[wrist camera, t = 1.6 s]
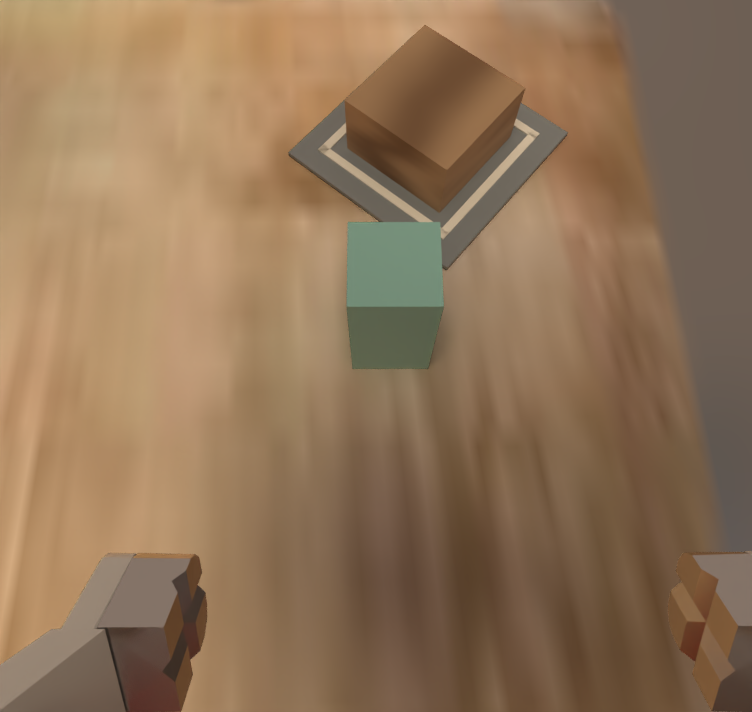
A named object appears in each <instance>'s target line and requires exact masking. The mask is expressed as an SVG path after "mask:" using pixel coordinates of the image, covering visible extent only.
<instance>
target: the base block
mask: <svg viewBox="0 0 752 712" xmlns="http://www.w3.org/2000/svg"><path fill="white" fill-rule="evenodd" d="M524 91H525V87H523V86H522V85H520V84H519V83H517V82H515V81H514V80H512V79H511V78H509V77H507V76H506V75H504V74H503V73H501V72H499V71H498V70H496V69H495V68H493V67H491V66H490V65H488V64H487V63H485V62H483V61H482V60H480V59H479V58H477V57H475V56H474V55H472V54H471V53H469V52H468V51H466V50H464V49H463V48H461V47H460V46H458V45H456V44H455V43H453V42H452V41H450V40H448V39H447V38H445V37H444V36H442V35H440V34H439V33H437V32H436V31H434V30H432V29H431V28H429V27H428V26H426V25H424V26H423V27H422V28H421V29H420V30H419V31H418V32H417V33H416V34H415V35H414V36H412V37H411V38H410V39H409V40H408V41H407V42H406V43H405V44H404V45H403V46H402V47H401V48H400V49H399V50H398V51H396V52H395V53H394V54H393V55H392V56H391V57H390V58H389V59H388V60H387V61H386V62H385V63H384V64H383V65H382V66H380V67H379V68H378V69H377V70H376V71H375V72H374V73H373V74H372V75H371V76H370V77H369V78H368V79H367V80H366V81H364V82H363V83H362V84H361V85H360V86H359V87H358V88H357V89H356V90H355V91H354V92H353V93H352V94H351V95H350V96H348V97H347V98H346V99H345V117H346V134H347V148H348V149H349V150H350V151H352V152H353V153H355V154H356V155H358V156H359V157H360V158H362V159H363V160H365V161H366V162H368V163H369V164H370V165H372V166H373V167H375V168H376V169H377V170H379V171H380V172H382V173H383V174H385V175H386V176H387V177H389V178H390V179H392V180H393V181H395V182H396V183H397V184H399V185H400V186H402V187H403V188H404V189H406V190H407V191H409V192H410V193H412V194H413V195H414V196H416V197H417V198H419V199H420V200H421V201H423V202H424V203H426V204H427V205H429V206H430V207H431V208H433V209H434V210H436V211H437V212H439V213H440V212H441V211H442V210H443V209H444V208H445V206H446V205H447V204H448V203H449V202H450V201H451V200H452V199H453V198H454V197H455V196H456V195H457V194H458V192H459V191H460V190H461V189H462V188H463V187H464V186H465V185H466V184H467V183H468V182H469V181H470V180H471V179H472V177H473V176H474V175H475V174H476V173H477V172H478V171H479V170H480V169H481V168H482V167H483V166H484V165H485V163H486V162H487V161H488V160H489V159H490V158H491V157H492V156H493V155H494V154H495V153H496V152H497V151H498V149H499V148H500V147H501V146H502V145H503V144H504V143H505V142H506V141H507V140H508V139H509V138H510V136H511V133H512V130H513V127H514V123H515V120H516V117H517V114H518V110H519V107H520V104H521V101H522V97H523V94H524Z"/></svg>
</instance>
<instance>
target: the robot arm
mask: <svg viewBox="0 0 752 712" xmlns="http://www.w3.org/2000/svg"><path fill="white" fill-rule="evenodd" d="M675 571H676V573H677V574H678V576H679V578H680V580H681V582H680V583H679V584H678V585H677V586H676V587H674V588H673V589H672V590H671V591H670V596H669V601H668V606H667V607H668V618H669V625H670V628H671V632H672V635H673V637H674V639H675V642H676V644H677V646H678V648H679V650H680V651H682V652H683V653H684V654H686V655H687V656H688V657H690V658H691V659H692V660H694V661H695V664H694V668H693V672H692V675H693V677H694V679H695V681H696V682H697V684H698V686H699V688H700V690H701V692H702V694H703V696H704V698H705V700H706V701H707V703H708V705H709V707H710V709H711V711H713V712H752V551H744V552H684V553H683V554H682V555H681V556H680V558H679V559H678V563H677V566H676V570H675ZM201 574H202V569H201V564H200V559H199V557H198V556H197V555H195V554H162V553H138V554H130V553H108V554H107V555H105V556H104V557H103V558H102V559H101V560H100V562H99V563H98V565H97V567H96V569H95V570H94V572H93V574H92V576H91V577H90V579H89V581H88V583H87V584H86V586H85V588H84V589H83V591H82V593H81V595H80V596H79V598H78V600H77V602H76V603H75V605H74V607H73V608H72V610H71V612H70V614H69V615H68V617H67V619H66V621H65V622H64V624H63V626H62V628H61V629H51V630H50V631H48V632H47V633H45V634H44V635H42V636H41V637H40V638H38V639H37V640H35V641H34V642H32V643H31V644H29V645H28V646H27V647H25V648H24V649H22V650H21V651H19V652H18V653H17V654H15V655H14V656H12V657H11V658H9V659H8V660H6V661H5V662H4V663H2V664H1V665H0V712H181V710H182V707H183V704H184V701H185V698H186V695H187V691H188V688H189V685H190V682H191V679H192V676H193V672H192V667H191V661H190V660H191V659H192V658H193V657H194V656H195V655H196V654H197V653H198V652H199V651H200V650H201V647H202V643H203V640H204V636H205V630H206V623H207V600H206V593H205V592H204V591H203V590H202V589H201V588H200V587H199V586H198V583H199V580H200V577H201Z"/></svg>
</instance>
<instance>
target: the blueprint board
mask: <svg viewBox="0 0 752 712" xmlns="http://www.w3.org/2000/svg"><path fill="white" fill-rule="evenodd" d="M413 36H414V35H413ZM400 48H401V47H400ZM400 48H399V49H400ZM399 49H398V50H399ZM398 50H397V51H398ZM384 63H385V62H384ZM384 63H383V64H384ZM383 64H382V65H383ZM382 65H381V66H382ZM368 78H369V77H368ZM368 78H367V79H368ZM367 79H366V80H367ZM366 80H365V81H366ZM352 93H353V92H352ZM352 93H351V94H352ZM351 94H350V95H351ZM350 95H349V96H350ZM567 134H568V132H566V131H565V130H563V129H561V128H560V127H558V126H557V125H555V124H554V123H552V122H550V121H549V120H547V119H546V118H544V117H543V116H541V115H539V114H538V113H536V112H535V111H533V110H531V109H530V108H528V107H527V106H525V105H524V104H522V103H521V104H520V107H519V110H518V114H517V117H516V120H515V123H514V127H513V130H512V133H511V136H510V138H509V139H508V140H507V141H506V142H505V143H504V144H503V145H502V146H501V147H500V148H499V149H498V151H497V152H496V153H495V154H494V155H493V156H492V157H491V158H490V159H489V160H488V161H487V162H486V163H485V165H484V166H483V167H482V168H481V169H480V170H479V171H478V172H477V173H476V174H475V175H474V176H473V177H472V179H471V180H470V181H469V182H468V183H467V184H466V185H465V186H464V187H463V188H462V189H461V190H460V191H459V192H458V194H457V195H456V196H455V197H454V198H453V199H452V200H451V201H450V202H449V203H448V204H447V205H446V206H445V208H444V209H443V210H442V211H441V212H440V213H439V212H437V211H436V210H434V209H433V208H431V207H430V206H429V205H427V204H426V203H424V202H423V201H421V200H420V199H419V198H417V197H416V196H414V195H413V194H412V193H410V192H409V191H407V190H406V189H404V188H403V187H402V186H400V185H399V184H397V183H396V182H395V181H393V180H392V179H390V178H389V177H387V176H386V175H385V174H383V173H382V172H380V171H379V170H377V169H376V168H375V167H373V166H372V165H370V164H369V163H368V162H366V161H365V160H363V159H362V158H360V157H359V156H358V155H356V154H355V153H353V152H352V151H350V150H349V149H348V148H347V134H346V117H345V100H344V101H343V102H342V103H341V104H340V105H339V106H338V107H336V108H335V109H334V110H333V111H332V112H331V113H330V114H329V115H328V116H327V117H326V118H325V119H324V120H323V121H322V122H320V123H319V124H318V125H317V126H316V127H315V128H314V129H313V130H312V131H311V132H310V133H309V134H308V135H307V136H306V137H304V138H303V139H302V140H301V141H300V142H299V143H298V144H297V145H296V146H295V147H294V148H293V149H292V150H291V151H290V152H288V153H289V156H290V157H292V158H293V159H294V160H296V161H297V162H298V163H300V164H301V165H303V166H304V167H305V168H307V169H308V170H309V171H311V172H312V173H314V174H315V175H316V176H318V177H319V178H320V179H322V180H323V181H325V182H326V183H327V184H329V185H330V186H331V187H333V188H334V189H336V190H337V191H338V192H340V193H341V194H342V195H344V196H345V197H347V198H348V199H349V200H351V201H352V202H353V203H355V204H356V205H358V206H359V207H360V208H362V209H363V210H364V211H366V212H367V213H369V214H370V215H371V216H373V217H374V218H375V219H377V220H378V221H380V222H440V228H441V252H442V267H443V268H444V269H446V270H447V269H448V268H449V267H450V266H451V265H452V263H453V262H454V261H455V260H456V259H457V258H458V257H459V256H460V255H461V253H462V252H463V251H464V250H465V249H466V248H467V247H468V246H469V244H470V243H471V242H472V241H473V240H474V239H475V238H476V237H477V236H478V234H479V233H480V232H481V231H482V230H483V229H484V228H485V227H486V225H487V224H488V223H489V222H490V221H491V220H492V219H493V218H494V216H495V215H496V214H497V213H498V212H499V211H500V210H501V209H502V208H503V206H504V205H505V204H506V203H507V202H508V201H509V200H510V199H511V197H512V196H513V195H514V194H515V193H516V192H517V191H518V190H519V189H520V187H521V186H522V185H523V184H524V183H525V182H526V181H527V180H528V178H529V177H530V176H531V175H532V174H533V173H534V172H535V171H536V169H537V168H538V167H539V166H540V165H541V164H542V163H543V162H544V161H545V159H546V158H547V157H548V156H549V155H550V154H551V153H552V152H553V150H554V149H555V148H556V147H557V146H558V145H559V144H560V143H561V142H562V140H563V139H564V138H565V137H566V136H567Z"/></svg>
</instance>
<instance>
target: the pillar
mask: <svg viewBox="0 0 752 712" xmlns="http://www.w3.org/2000/svg"><path fill="white" fill-rule="evenodd" d="M443 308H444V300H443V276H442V252H441V228H440V222H348V244H347V316H348V327H349V337H350V347H351V357H352V367H353V369H428V367H429V363H430V359H431V355H432V351H433V347H434V343H435V339H436V335H437V331H438V327H439V323H440V320H441V316H442V312H443Z"/></svg>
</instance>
